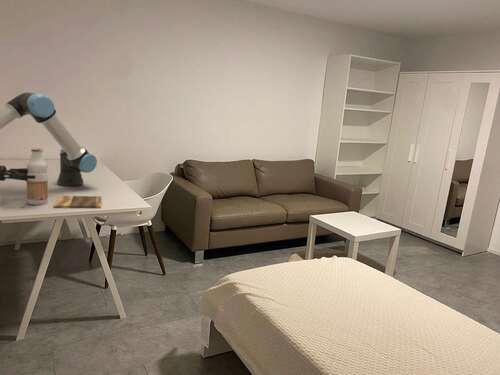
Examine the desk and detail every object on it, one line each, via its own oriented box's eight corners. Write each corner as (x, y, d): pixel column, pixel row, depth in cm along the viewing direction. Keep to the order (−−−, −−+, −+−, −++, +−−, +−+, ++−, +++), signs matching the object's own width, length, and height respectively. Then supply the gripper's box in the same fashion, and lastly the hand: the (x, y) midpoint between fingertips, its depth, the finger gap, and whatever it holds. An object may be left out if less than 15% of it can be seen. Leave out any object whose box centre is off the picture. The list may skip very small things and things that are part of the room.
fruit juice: (30, 205, 189) (29, 150, 183) (24, 201, 196) (23, 147, 190) (50, 203, 196) (50, 150, 190) (44, 199, 202) (44, 147, 196)
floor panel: (53, 208, 189) (53, 205, 189) (58, 197, 208) (58, 195, 207) (100, 208, 197) (100, 205, 197) (101, 198, 216) (101, 196, 215)
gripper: (2, 175, 198) (48, 176, 206) (-11, 185, 176) (41, 187, 183) (2, 161, 196) (48, 163, 204) (-12, 170, 174) (41, 171, 182)
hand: (45, 174), depth 194 cm, fingers open, 12 cm apart
